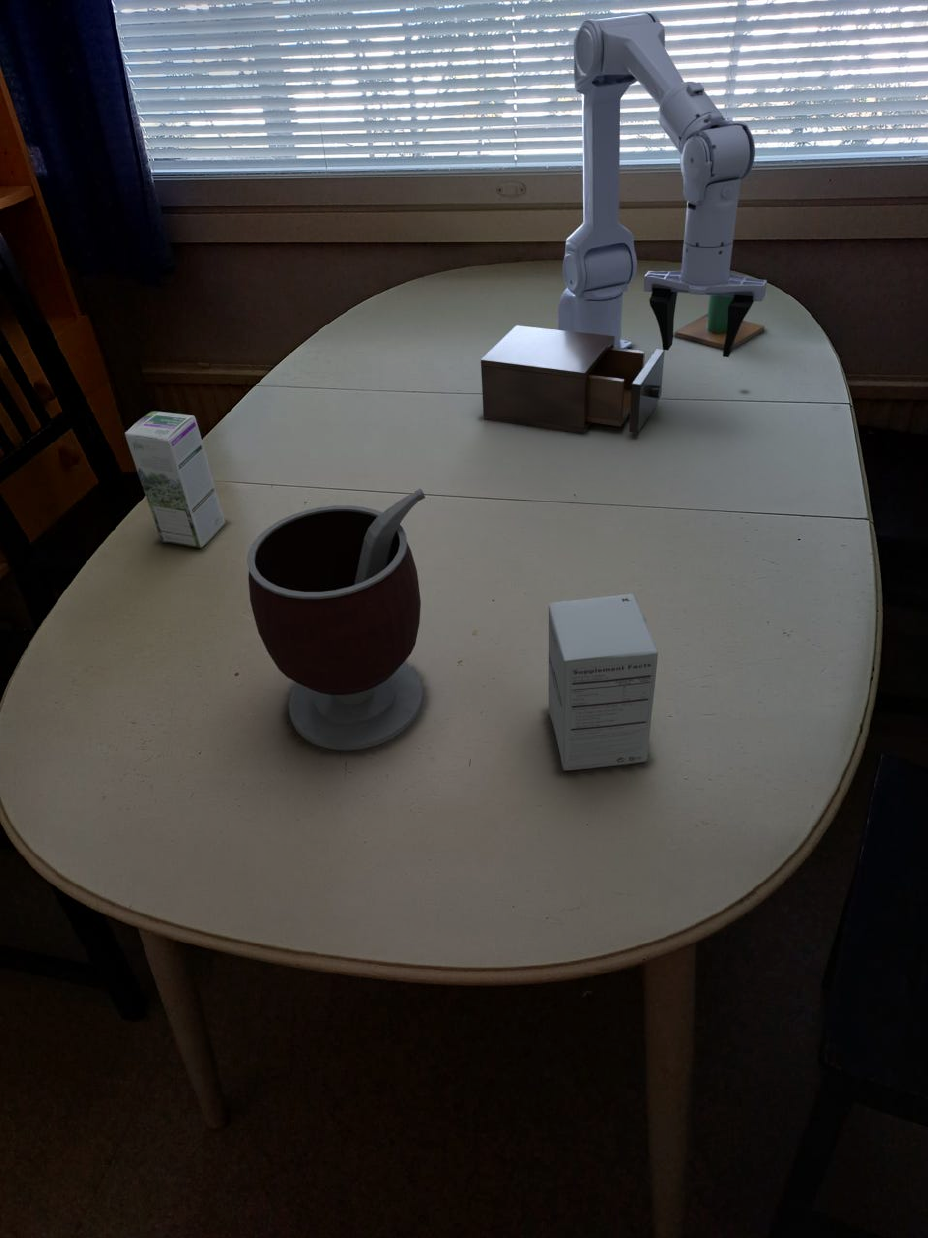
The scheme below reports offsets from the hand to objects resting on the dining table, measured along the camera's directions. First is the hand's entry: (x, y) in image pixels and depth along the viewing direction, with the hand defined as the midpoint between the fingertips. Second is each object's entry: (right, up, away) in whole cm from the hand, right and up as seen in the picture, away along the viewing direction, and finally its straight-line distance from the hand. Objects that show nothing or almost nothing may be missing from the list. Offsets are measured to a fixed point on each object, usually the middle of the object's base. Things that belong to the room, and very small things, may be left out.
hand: (697, 350), depth 115 cm
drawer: (-11, -6, +8) cm, 14 cm away
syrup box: (-62, -24, -9) cm, 67 cm away
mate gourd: (-39, -42, -32) cm, 66 cm away
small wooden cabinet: (-18, -4, +11) cm, 22 cm away
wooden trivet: (+11, +11, +27) cm, 32 cm away
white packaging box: (-19, -45, -38) cm, 62 cm away
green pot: (+11, +12, +27) cm, 31 cm away
